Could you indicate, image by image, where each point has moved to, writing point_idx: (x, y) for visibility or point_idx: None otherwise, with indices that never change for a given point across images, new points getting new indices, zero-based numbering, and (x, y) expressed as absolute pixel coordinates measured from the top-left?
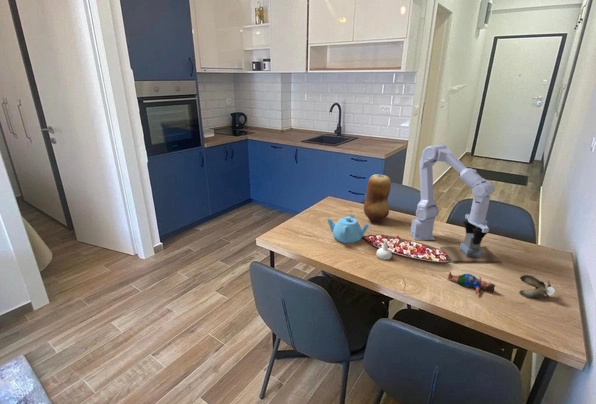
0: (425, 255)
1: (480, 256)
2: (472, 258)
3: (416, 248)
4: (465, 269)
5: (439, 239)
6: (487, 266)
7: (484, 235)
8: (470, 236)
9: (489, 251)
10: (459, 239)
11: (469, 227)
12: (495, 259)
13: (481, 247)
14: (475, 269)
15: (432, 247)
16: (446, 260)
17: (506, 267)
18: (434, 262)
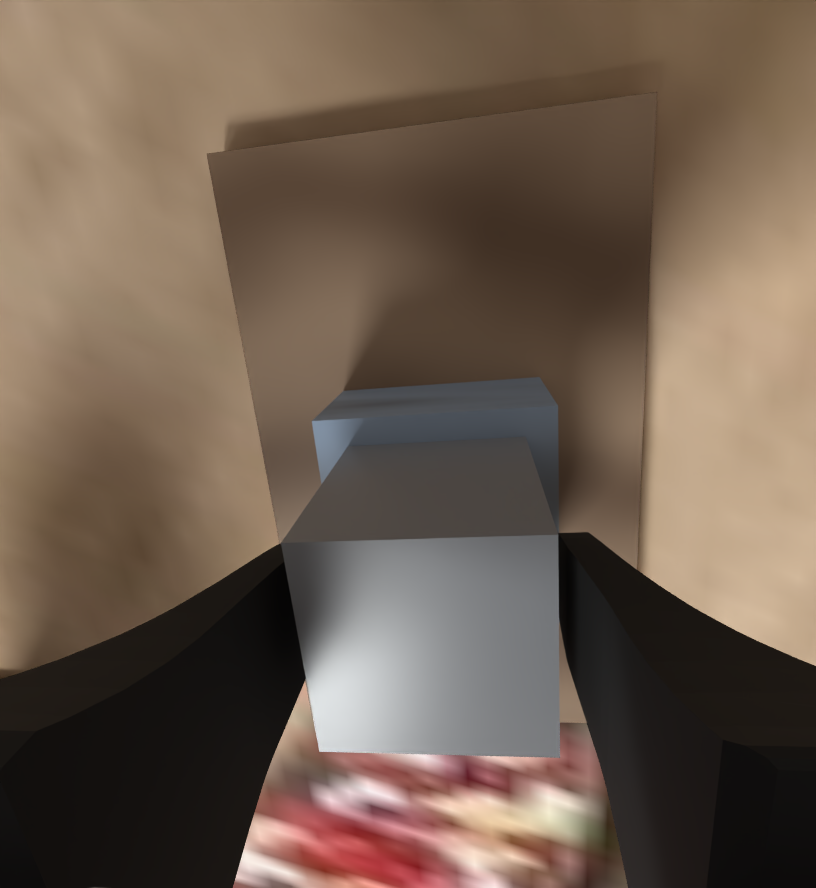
0: (476, 857)
1: (539, 381)
2: (581, 500)
3: (347, 876)
4: (771, 636)
5: (98, 630)
6: (729, 360)
7: (783, 667)
8: (482, 740)
9: (361, 161)
10: (27, 410)
11: (217, 825)
12: (616, 184)
13: (246, 234)
14: (784, 536)
15: (303, 753)
16: (571, 733)
17: (784, 82)
18: (609, 837)
